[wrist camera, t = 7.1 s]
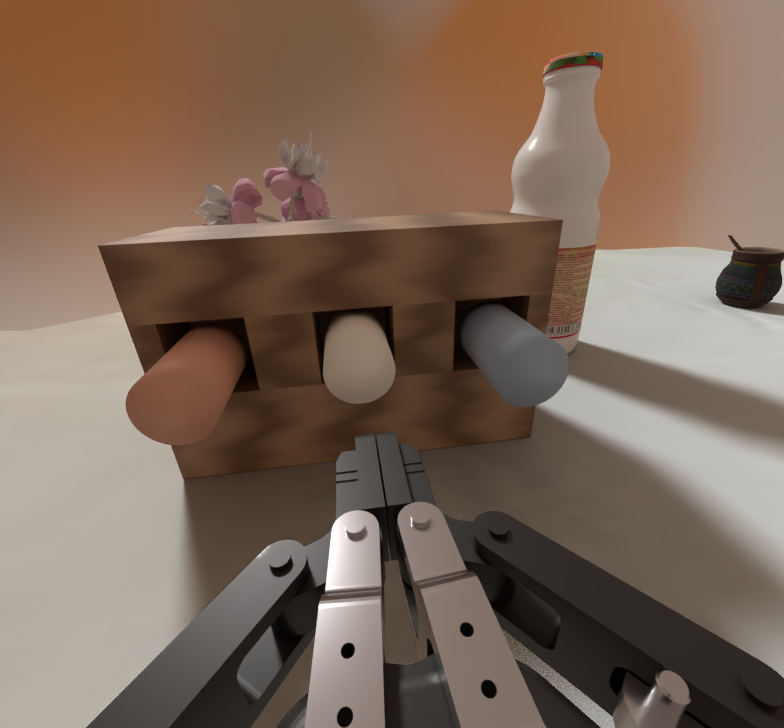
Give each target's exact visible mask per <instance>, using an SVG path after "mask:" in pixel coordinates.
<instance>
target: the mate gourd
mask: <svg viewBox="0 0 784 728" xmlns="http://www.w3.org/2000/svg"><path fill="white" fill-rule="evenodd" d="M728 237H729V238H730V240H731V241H732V243H733V244H734V246H735V247H736V248H737V249H735V250H734V251H733V254H732V257H731V258H732V260H731V262H730V264H729V265H728V266H726V267H725V268H724V269H723V271H722V272H721V274H720V276H719V277H718V279H717V282H716V291H717V293H716V296H717V297H718V298H719V299H720V300H721V301H722V302H723V303H725V304H728V305H732V306H738V307H746V308H756V307H760V306H762V305H764V304H767V303H768V302H770V301H771V300H773V297H774V296H775V295H776V294H777V293H778V292H779V290H780V288H781V286H782V275H781V269H780V268H781V261H782V260H783V259H784V250H781V249H775V248H765V247H744V248H741V247H740V246H739V245H738V243H737V242H736V241H735V239H733V237H732V236H729V235H728Z"/></svg>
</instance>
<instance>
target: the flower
mask: <svg viewBox="0 0 784 728" xmlns="http://www.w3.org/2000/svg"><path fill="white" fill-rule="evenodd" d="M310 135H311V139H310V143H309V147H308V151H307V152H306V153H305V152H304V146H303V145H302V144H300V143H299V142H298V141H295V143H294V145H293V146H292V149H291V151H290V149H289V147H288V145H287V142H286V139H284V140H283V141H282V143H281V144H280V147H279V150H278V155H279V156H280V158H281V159H282V160H283V162H284V163H285V165H286V167H287V168H288V169H286V168H284V167H280V168H272V169H267V170H266V171H265V173H264V174H263V177H264V184H265V187H267V188H269V187H270V186H271V193H272V194H273V195H274V196H275V197H276V198H278V199H279V200H281V201H283V203H282V205H281V207H280V212H281V214H280V215H281V217H282V221H279V220H278V219H276V218H274V217H272V216H270V215H268V214H262V213H257V212H255V211H254V210H253V209H254V208H256V207H258V206H260V205H262V196H261V195H260V193H259V192H258V191H257V190H256V189H255V188H256V187H257V185H256V184H254V183H253V182H252V181H251V180H249V179H248V178H243V179H239V180H238V182H237V184H236V185H235V187H234V189H233V190H232V197H231V198H230V197H228V196H227V195H226V193H225V192H224V191H223V190H222V189H221V188H220V187H219V186H217V185H212V184H210V185H208V186H205V187H203V188H202V189H203V190H204V191H205V192H206V193H207V194H208V195H209V196H208V195H206V196H205V199H207V200H205V199H203V198H201V199H202V201H200V202H201V203H202V204H201V205H200V206H199V209H201V210H205V211H208V212H194V211H193V210H192V209H188V210H189V211H191V212H192V213H197V214H202V215H207V216H205V217H204V218H205V219H206V220H210V221H211V223H209V224H204V225H202V226H212V225H231V224H250V223H257V222H256V218H257V217H260V218H262V219H265V220H268V221H271V222H289V221H308V220H328V219H336V218H335V217H334V216H330V209H329V207H328V206H327V202H326V201H325V200H326V195H325V193H324V191H323V189H322V182H321V181H320V179H319V178H320V177H324V174H325V172H326V170H327V167H328V164H329V163H328V161H327V160H325V161H324V162H322V163H320V164H318V163H319V161H320V158H321V154H320V153H321V152H322V151H320V152H319V153H318V154H317V152H318V150H316V151H315V152H314V156H313V155H312V156H311V154H312V149H310V148H311V143H312V138H313V134H312V131H310ZM295 144H296V145H295ZM306 147H307V146H306ZM317 178H318V179H317ZM313 179H317V181H316V182H314V181H313ZM203 201H204V202H203ZM315 212H316V213H315Z"/></svg>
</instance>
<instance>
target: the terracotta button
mask: <svg viewBox="0 0 784 728" xmlns="http://www.w3.org/2000/svg"><path fill="white" fill-rule="evenodd" d="M247 361H248V350H247V347H246V344H245V342H244V341H243V339H242V338H241V337H240V335H239V334H238V333H236V332H235V331H234V330H232V329H231V328H229V327H227V326H224V325H221V324H216V323H205V324H201V325H198V326H195V327H194V328H192V329H191V330H190V331H188V332H187V333H186V334H185V335H184V336H183V337H182V338H181V339H180V340H179V341H178V342H177V343H176V344H175V345H174V346H173V347H172V348H171V349H170V350H169V351H168V352H167V353H166V354H165V355H164V356H163V357H162V358H161V359H160V360H159V361H158V362H157V363H156V364H155V365H154V366H153V367H152V368H151V369H150V370H149V371H148V372H146V373H145V374H144V375H143V376H142V377H141V378H140V379H139V380H138V381H137V382H136V383H135V384H134V385H133V386H132V388H131V389H130V391H129V392H128V395H127V398H126V411H127V414H128V417H129V419H130V421H131V422H132V423H133V425H134V426H135V427H136V428H137V429H138V430H139V431H140V432H141V433H142V434H144V435H145V436H147V437H149V438H150V439H152V440H155V441H157V442H160V443H164V444H168V445H188V444H193V443H196V442H198V441H201V440H202V439H204V438H206V437H207V436H208V435H209V434H210V433H211V432H212V431H213V429H214V428H215V426H216V424H217V422H218V420H219V418H220V416H221V414H222V412H223V410H224V408H225V406H226V404H227V402H228V400H229V398H230V396H231V394H232V392H233V390H234V388H235V386H236V384H237V382H238V380H239V378H240V376H241V374H242V372H243V370H244V368H245V366H246V364H247Z"/></svg>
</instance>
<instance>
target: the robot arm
mask: <svg viewBox="0 0 784 728" xmlns="http://www.w3.org/2000/svg"><path fill="white" fill-rule="evenodd" d="M355 444H356V450H354V451H345V452H342V453H341V454H340V456H339V458H338V460H337V461H336V520H335V523H334V525H333V527H332V529H331V530H330V531H329V533H328V534H326V535H325V536H324V537H323V538H321V539H320V540H318V541H316V542H313V543H311V544H309V545H307V546H303V545H302V544H301V543H299V542H297V541H294V540H281V541H278V542H275V543H273V544H271V545H269V546H268V547H266V548H265V549H264V550H263V551H262V552H261V553H260V554H259V555H258V556H257V557H256V558H255V559H254V560H253V561H252V562H251V563H250V564H249V565H248V566H247V567H246V568H245V569H244V570H243V571H242V572H241V573H240V574H239V575H238V576H237V577H236V578H235V579H234V580H233V581H232V582H231V583H230V584H229V585H228V586H227V587H226V588H225V589H224V590H223V591H222V592H221V593H220V594H219V595H218V596H217V597H216V598H215V599H214V600H213V601H212V602H211V603H210V604H209V605H208V606H207V607H206V608H205V609H204V610H203V611H202V612H201V613H200V614H199V615H198V616H197V617H196V618H195V619H194V620H193V621H192V622H191V623H190V624H189V625H188V626H187V627H186V628H185V629H184V630H183V631H182V632H181V633H180V634H179V635H178V636H177V637H176V638H175V639H174V640H173V641H172V642H171V643H170V644H169V645H168V646H167V647H166V648H165V649H164V650H163V651H162V652H161V653H160V654H159V655H158V656H157V657H156V658H155V659H154V660H153V661H152V662H151V663H150V664H149V665H148V666H147V667H146V668H145V669H144V670H143V671H142V672H141V673H140V674H139V675H138V676H137V677H136V678H135V679H134V680H133V681H132V682H131V683H130V684H129V685H128V686H127V687H126V688H125V689H124V690H123V691H122V692H121V693H120V694H119V695H118V696H117V697H116V698H115V699H114V700H113V701H112V702H111V703H110V704H109V705H108V706H107V707H106V708H105V709H104V710H103V711H102V712H101V713H100V714H99V715H98V716H97V717H96V718H95V719H94V720H93V721H92V722H91V723H90V724H89V725H88V726H87V727H86V728H250V727H251V726H252V724H253V723H254V722H255V720H256V719H257V717H258V716H259V714H260V713H261V712H262V710H263V709H264V707H265V706H266V704H267V703H268V701H269V700H270V699H271V697H272V696H273V694H274V693H275V691H276V690H277V689H278V687H279V686H280V684H281V683H282V681H283V680H284V679H285V677H286V676H287V674H288V673H289V671H290V670H291V669H292V667H293V666H294V664H295V663H296V661H297V660H298V659H299V657H300V656H301V654H302V653H303V651H304V650H305V649H306V647H307V646H308V644H309V643H310V641H311V640H312V639H313V637H314V636H315V642H314V651H313V659H312V668H311V676H310V685H309V693H307V694H306V695H305V696H304V697H303V698H301V699H300V700H299V701H298V702H297V703H296V704H295V705H294V706H293V707H292V708H291V709H290V711H289V712H288V713H287V714H286V716H285V717H284V718H283V719H282V721H281V722H280V724H279V725H278V727H277V728H600V727H599V726H598V725H597V724H596V723H595V722H594V721H593V720H591V719H590V718H589V717H588V716H587V715H586V714H585V713H583V712H582V711H581V710H580V709H579V708H578V707H577V706H575V705H574V704H573V703H572V702H571V701H570V700H569V699H567V698H566V697H565V696H564V695H563V694H562V693H561V692H559V691H558V690H557V689H556V688H555V687H554V686H553V685H551V684H550V683H549V682H548V681H547V680H546V679H545V678H543V677H542V676H541V675H540V674H539V673H537V672H536V671H534V670H533V669H532V668H530V667H529V666H527V665H525V664H523V663H522V662H520V661H518V660H516V659H515V658H514V656H513V654H512V652H511V649H510V647H509V645H508V643H507V641H506V638H505V636H504V634H503V632H502V629H501V628H503V629H504V630H505V631H506V632H508V633H509V634H510V635H511V636H513V637H514V638H515V639H516V640H518V641H519V642H520V643H521V644H523V645H524V646H525V647H526V648H528V649H529V650H530V651H531V652H533V653H534V654H535V655H536V656H538V657H539V658H540V659H541V660H543V661H544V662H545V663H546V664H548V665H549V666H550V667H551V668H553V669H554V670H555V671H556V672H558V673H559V674H560V675H561V676H563V677H564V678H565V679H566V680H568V681H569V682H570V683H571V684H573V685H574V686H575V687H576V688H578V689H579V690H580V691H581V692H583V693H584V694H585V695H586V696H588V697H589V698H590V699H591V700H593V701H594V702H595V703H596V704H598V705H599V706H600V707H601V708H603V709H604V710H605V711H606V712H608V713H609V714H610V715H611V716H613V720H614V725H615V728H784V678H783V677H782V676H781V675H780V674H778V673H777V672H776V671H775V670H773V669H772V668H771V667H769V666H768V665H766V664H765V663H763V662H762V661H760V660H758V659H756V658H755V657H753V656H751V655H750V654H748V653H746V652H744V651H743V650H741V649H739V648H737V647H736V646H734V645H732V644H730V643H729V642H727V641H725V640H724V639H722V638H720V637H718V636H717V635H715V634H713V633H711V632H710V631H708V630H706V629H705V628H703V627H701V626H699V625H698V624H696V623H694V622H692V621H691V620H689V619H687V618H685V617H684V616H682V615H680V614H679V613H677V612H675V611H673V610H672V609H670V608H668V607H666V606H665V605H663V604H661V603H660V602H658V601H656V600H654V599H653V598H651V597H649V596H647V595H646V594H644V593H642V592H640V591H639V590H637V589H635V588H634V587H632V586H630V585H628V584H627V583H625V582H623V581H621V580H620V579H618V578H616V577H615V576H613V575H611V574H609V573H608V572H606V571H604V570H602V569H601V568H599V567H597V566H595V565H594V564H592V563H590V562H589V561H587V560H585V559H583V558H582V557H580V556H578V555H576V554H575V553H573V552H571V551H570V550H568V549H566V548H564V547H563V546H561V545H559V544H557V543H556V542H554V541H552V540H550V539H549V538H547V537H545V536H544V535H542V534H540V533H538V532H537V531H535V530H533V529H531V528H530V527H528V526H526V525H525V524H523V523H521V522H519V521H518V520H516V519H514V518H512V517H511V516H509V515H507V514H504V513H502V512H496V511H489V512H485V513H482V514H480V515H479V516H478V517H476V519H475V520H474V522H468V521H460V520H455V519H452V518H450V517H448V516H446V515H444V514H443V513H442V512H441V511H440V510H439V509H438V508H437V506H436V505H435V502H434V499H433V496H432V493H431V489H430V486H429V483H428V480H427V477H426V474H425V471H424V467H423V464H422V461H421V458H420V455H419V452H418V451H417V450H416V449H415V448H414V447H413V446H412V445H411V444H403V445H398V442H397V438H396V434H395V432H388V433H380V434H376V443H375V437H374V434H372V435H363V436H355ZM376 448H377V449H376ZM387 535H388V537H387ZM388 542H389V549H390V556H391V561H392V560H398V561H399V567H400V577H401V586H402V591H403V595H404V599H405V603H406V607H407V611H408V615H409V619H410V623H411V627H412V631H413V635H414V639H415V644H416V648H417V653H418V660H419V661H418V662H416V663H415V664H412V665H398V664H390V663H387V644H386V620H385V596H384V583H385V565H384V562H386V561H389V552H388Z"/></svg>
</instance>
